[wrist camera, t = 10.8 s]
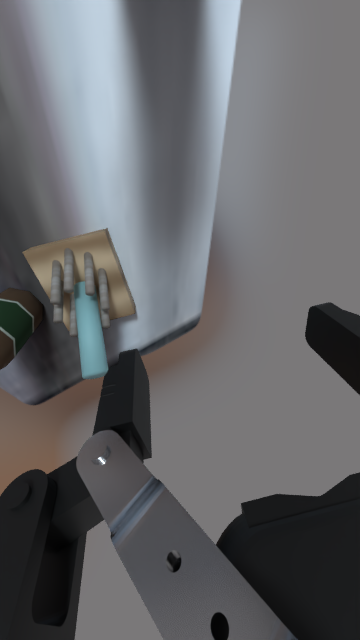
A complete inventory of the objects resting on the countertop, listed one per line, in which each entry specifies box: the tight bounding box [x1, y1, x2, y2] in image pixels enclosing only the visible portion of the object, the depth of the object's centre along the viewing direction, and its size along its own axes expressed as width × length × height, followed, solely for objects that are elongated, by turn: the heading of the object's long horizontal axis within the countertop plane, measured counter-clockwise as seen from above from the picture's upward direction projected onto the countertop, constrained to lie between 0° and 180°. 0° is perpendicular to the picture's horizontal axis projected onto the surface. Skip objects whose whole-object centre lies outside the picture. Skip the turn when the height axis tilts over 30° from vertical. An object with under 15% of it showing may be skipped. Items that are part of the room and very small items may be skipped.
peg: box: [74, 281, 108, 379], centre depth 32 cm, size 3×3×14 cm
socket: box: [23, 228, 136, 337], centre depth 34 cm, size 14×12×9 cm
